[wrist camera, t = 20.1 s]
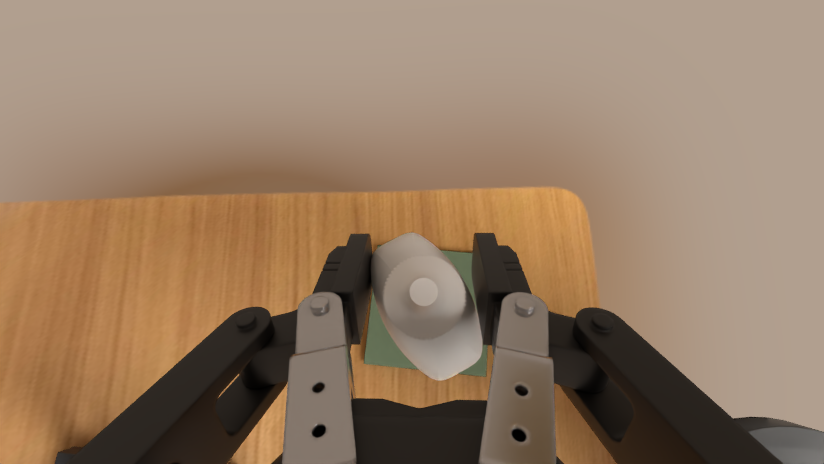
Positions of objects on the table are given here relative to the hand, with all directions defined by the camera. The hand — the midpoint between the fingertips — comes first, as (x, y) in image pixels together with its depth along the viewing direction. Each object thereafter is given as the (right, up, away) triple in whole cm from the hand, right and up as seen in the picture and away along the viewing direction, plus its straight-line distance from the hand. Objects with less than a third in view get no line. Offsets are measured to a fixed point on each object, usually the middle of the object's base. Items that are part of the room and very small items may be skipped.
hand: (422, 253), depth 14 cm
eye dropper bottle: (0, -4, +7) cm, 8 cm away
